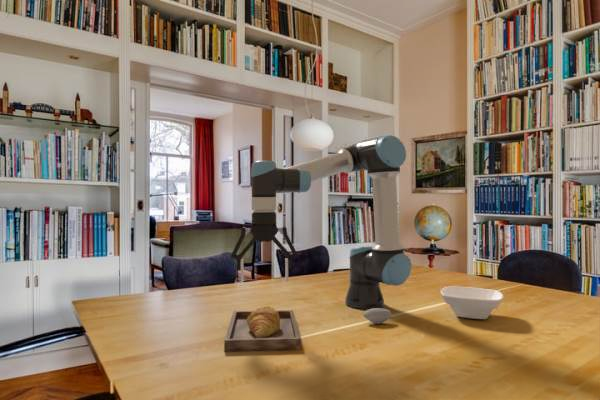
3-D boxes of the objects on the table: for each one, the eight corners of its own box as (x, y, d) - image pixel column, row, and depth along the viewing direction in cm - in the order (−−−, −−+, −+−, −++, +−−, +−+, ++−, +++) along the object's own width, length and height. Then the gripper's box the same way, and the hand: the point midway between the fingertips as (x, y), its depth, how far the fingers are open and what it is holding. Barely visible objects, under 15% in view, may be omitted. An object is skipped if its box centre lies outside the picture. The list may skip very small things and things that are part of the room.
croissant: (269, 354, 110) (283, 329, 110) (237, 336, 110) (251, 311, 110) (275, 328, 131) (287, 307, 131) (249, 314, 131) (260, 293, 131)
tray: (293, 318, 136) (293, 310, 136) (300, 349, 107) (300, 338, 107) (233, 320, 134) (233, 311, 134) (224, 351, 105) (224, 340, 105)
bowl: (502, 313, 146) (502, 289, 146) (505, 328, 127) (505, 301, 127) (443, 306, 155) (443, 284, 155) (437, 320, 136) (437, 295, 136)
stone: (388, 320, 135) (388, 305, 135) (394, 325, 130) (394, 309, 130) (360, 321, 134) (360, 306, 134) (366, 326, 128) (366, 310, 128)
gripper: (303, 210, 126) (303, 277, 126) (224, 211, 124) (224, 279, 123) (305, 211, 118) (306, 281, 118) (221, 212, 116) (222, 284, 116)
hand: (264, 280), depth 121 cm, fingers open, 13 cm apart
